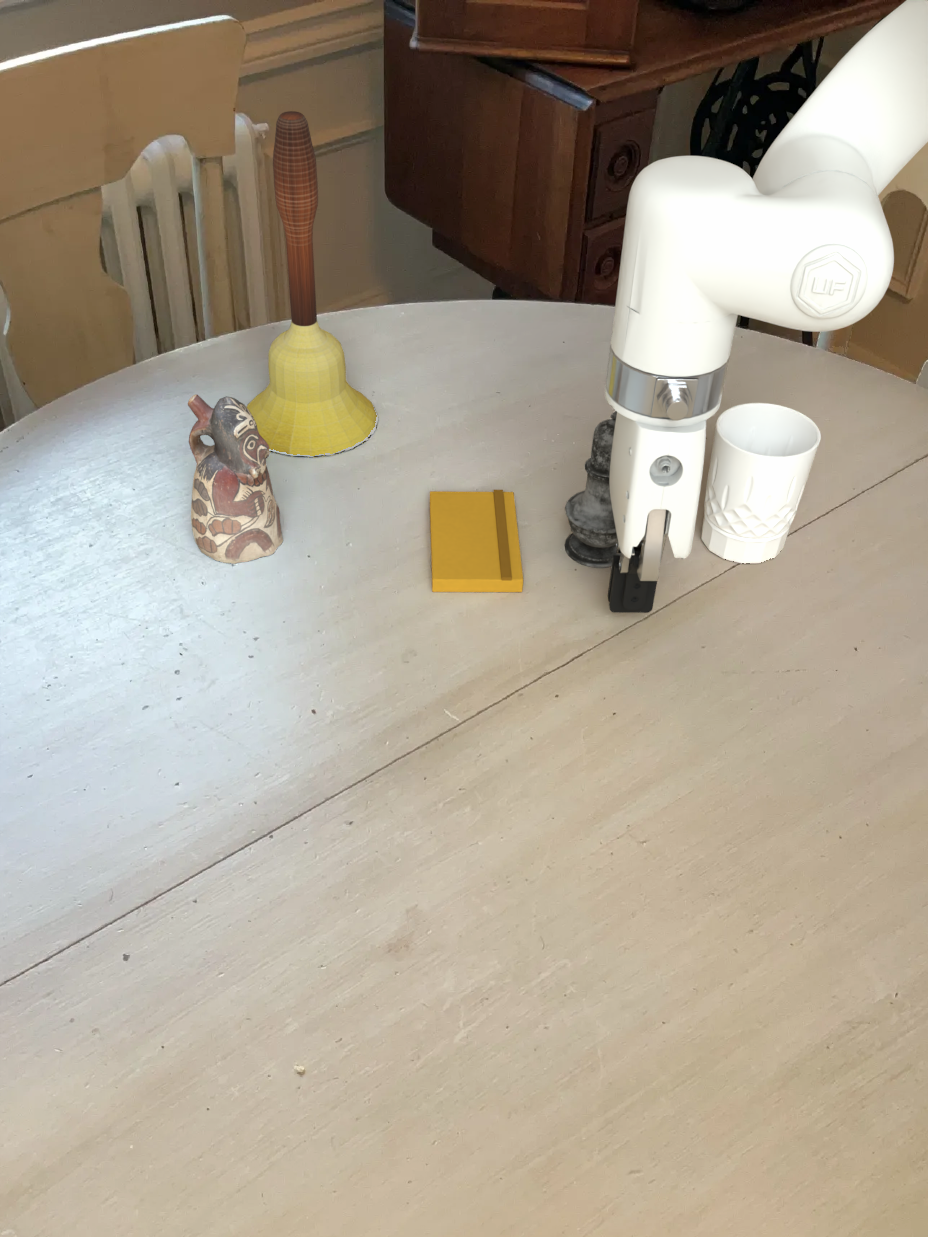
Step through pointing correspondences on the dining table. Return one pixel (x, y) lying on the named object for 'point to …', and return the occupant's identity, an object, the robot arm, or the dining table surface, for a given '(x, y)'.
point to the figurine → (231, 485)
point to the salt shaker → (594, 506)
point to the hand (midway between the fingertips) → (629, 605)
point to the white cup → (756, 479)
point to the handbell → (305, 325)
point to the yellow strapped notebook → (474, 542)
